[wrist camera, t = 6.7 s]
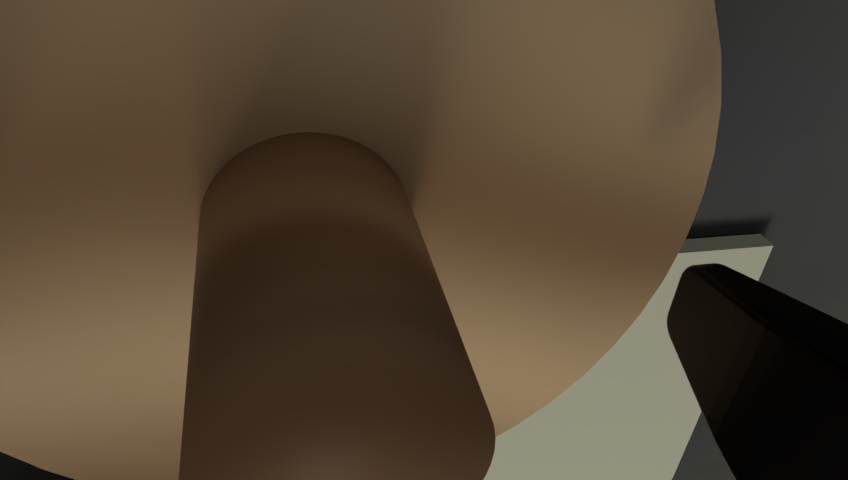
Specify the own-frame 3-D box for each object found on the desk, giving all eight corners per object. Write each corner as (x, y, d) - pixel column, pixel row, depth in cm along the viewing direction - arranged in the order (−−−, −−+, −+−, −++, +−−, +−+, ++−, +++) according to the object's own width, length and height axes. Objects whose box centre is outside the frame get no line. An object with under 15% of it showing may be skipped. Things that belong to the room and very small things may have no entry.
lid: (592, 406, 15) (728, 658, 11) (-23, 490, 12) (-152, 861, 8) (794, -288, 8) (1370, -327, 4) (-477, -418, 6) (-2495, -897, 1)
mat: (639, 524, 27) (646, 538, 27) (280, 586, 24) (281, 603, 24) (759, 233, 19) (773, 245, 19) (252, 272, 16) (252, 287, 16)
